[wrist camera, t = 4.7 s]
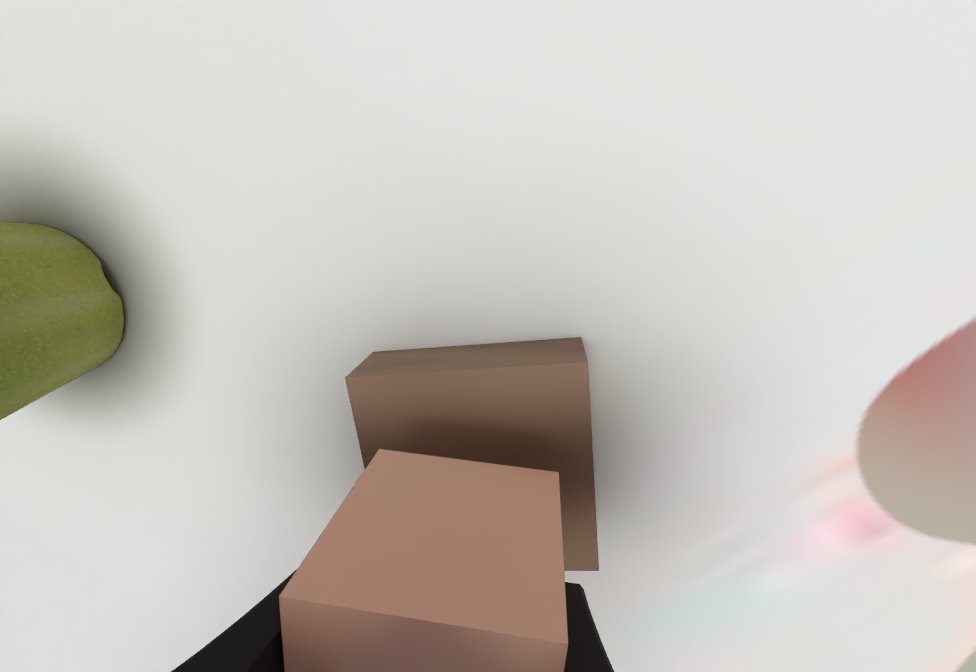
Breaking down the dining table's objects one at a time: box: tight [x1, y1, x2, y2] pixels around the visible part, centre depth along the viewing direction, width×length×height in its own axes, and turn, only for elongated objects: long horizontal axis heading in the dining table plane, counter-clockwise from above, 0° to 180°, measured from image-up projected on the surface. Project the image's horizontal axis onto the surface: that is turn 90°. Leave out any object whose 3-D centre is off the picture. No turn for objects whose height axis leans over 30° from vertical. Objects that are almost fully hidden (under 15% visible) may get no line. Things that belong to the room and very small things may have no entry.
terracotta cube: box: [279, 449, 568, 672], centre depth 11 cm, size 5×5×5 cm
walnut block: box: [345, 337, 599, 571], centre depth 17 cm, size 8×8×3 cm
